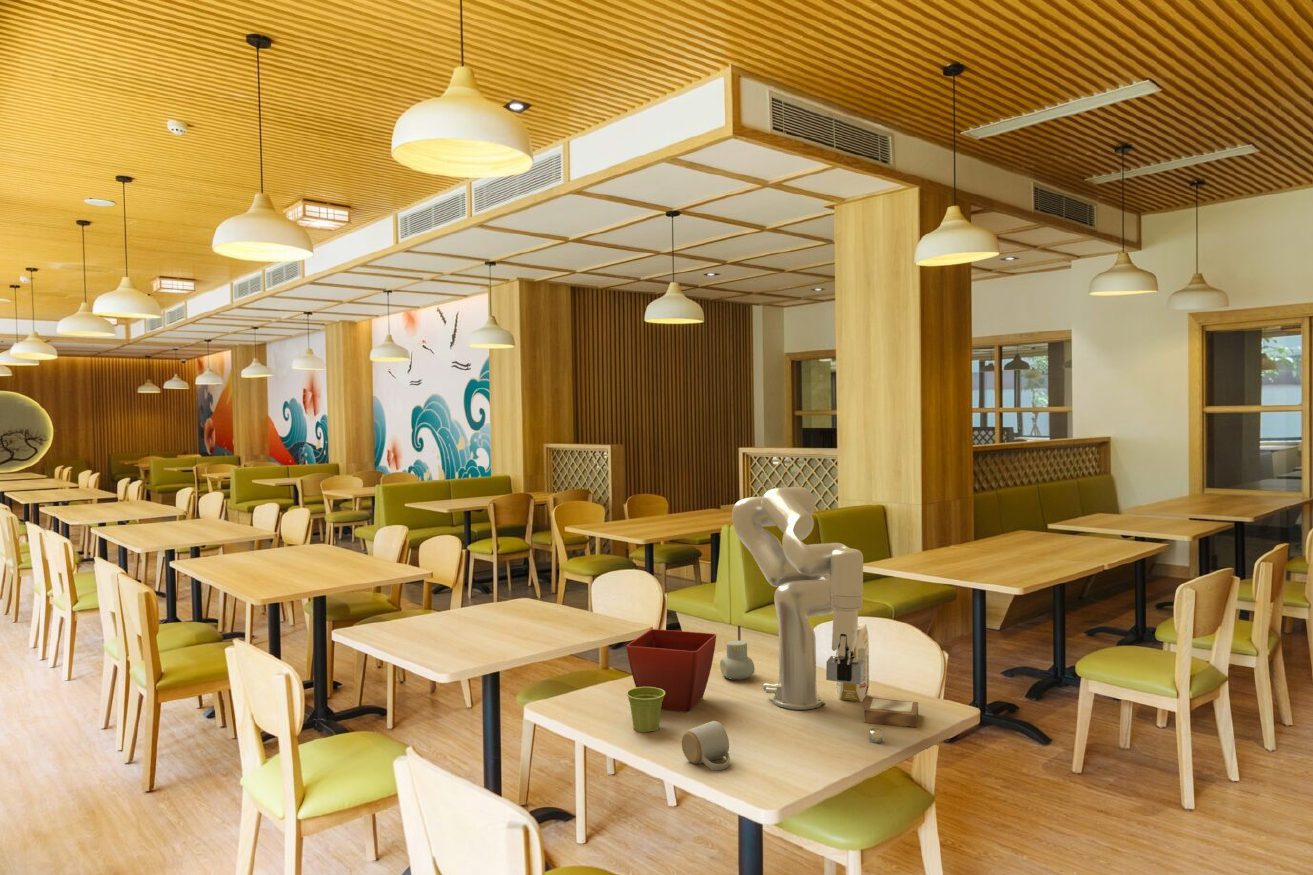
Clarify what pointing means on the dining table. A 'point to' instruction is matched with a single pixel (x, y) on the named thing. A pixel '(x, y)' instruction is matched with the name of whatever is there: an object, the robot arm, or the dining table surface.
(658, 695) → the plant pot
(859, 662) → the housing
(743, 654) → the air freshener
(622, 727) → the dining table surface
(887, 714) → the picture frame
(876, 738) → the cylinder
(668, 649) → the plant pot
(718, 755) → the ceramic mug
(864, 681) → the juice carton
